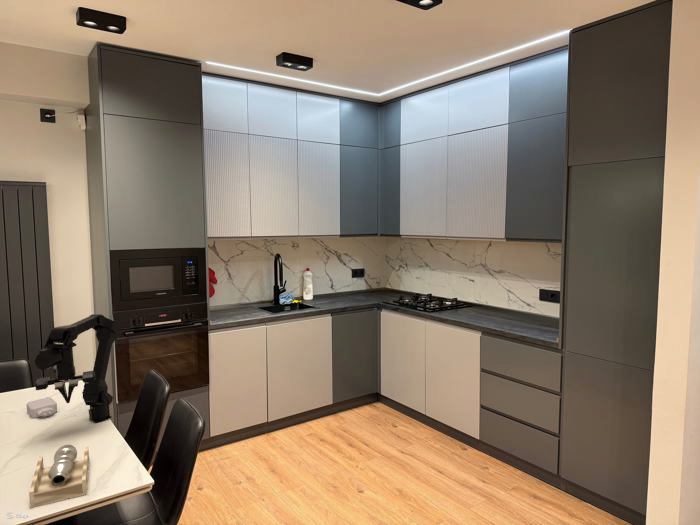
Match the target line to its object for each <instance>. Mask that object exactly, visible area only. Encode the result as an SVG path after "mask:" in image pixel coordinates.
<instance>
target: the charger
mask: <svg viewBox="0 0 700 525" xmlns="http://www.w3.org/2000/svg"><path fill="white" fill-rule="evenodd" d="M26 412H27V413H28V415H29V416H30V417H31V418H32V419H38V418H41V416H42V418H43V417H49V416H51V415H53V414H56V413H57V412H58V404H57V402H56V401H55V400H54V399H53V398H52V397H50V396H48V397H44V398H39V399H35V400H31V401H28V402H27V403H26Z"/></svg>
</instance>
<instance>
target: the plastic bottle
mask: <svg viewBox="0 0 700 525" xmlns="http://www.w3.org/2000/svg"><path fill="white" fill-rule="evenodd" d="M77 457H78V451H77V447H75V446H74V445H72V444H64V445H62V446H59V448H58V449H57V450H56V451H55V453H54V455H53V464H52V466H50V467H51V468H50V470H49V473H48V477H49V479H50V481H51V483H52V485H53V486H55V487H59V486H61V485H63V484H64V483H65V481H67V480H68V479H69V478H70V477H71V475H72V473H73V462H76V459H77Z"/></svg>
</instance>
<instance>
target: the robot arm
mask: <svg viewBox="0 0 700 525" xmlns="http://www.w3.org/2000/svg"><path fill="white" fill-rule="evenodd" d="M92 329H93V330H94V331H95V333H96V334H95V338H96V340H97V342H98V344H97V350H96V354H95V360H94V364H93V369H92V370H88V371H83V372H82V374H79V375H76V366H75V364H74V363H75V361H74V351H73V350H74V349H73V348H74V347H77V345H78V344H77V343H76V342H74V341H76V339H78V336H79V335H80V334H83V333H85V332H87V331H90V330H92ZM120 331H121V326H120V325H119V323H118V322H117V321H114V320H112V319H110V318H108V317H106V316H105V315H103V314H99V313H98V314H94V313H93V314H90V315H89V316H87V317H85V318H82V319H81V320H78V321H76V322H74V323H71V324H67V325H61V326H55V327H53V328H51V330H50V333H49V335H48V336H47V340H46V341H45V344H44V347H43V348H44V349H41V350H40V349H39V350H38V352H39V354H37V355H36V356H35V359H34V364H35V366H36V368H37V369H39V370H41V371H45V370H49V369H50V368H52V369H53V370H52V371H53V372H52V374H54V375H56V378H53V379H52V378H50V376H47V377H46V376H45V377H40V378H37V380H36V382H35V383H34V385H35V391H41V390H47V389H48V387H49V386H52V385H54V390H56V391H58V392H59V393H60V394H61V395H62V397H63V400H64V401H65V403H66V404H70V402H71V398H72V394H73V392H74V389H75V388H76V387H78V386H79V381H82V382H84V384H83V390H82V391H81V394H82V399H83V401H84V404H85V406H89V409H88V417H89V418H88V420H89V421H91V422H93V423H94V424H97V423H101V422H103V421H106V420H110V419H112V418H113V417H112V416H111V414H110V413H111V412H110V405H111V403H113V398H114V397H113V396H112V395H111V394H110V393H109V392H108V388H109V387H108V384H107V382H106V376H107V372H108V368H109V360H110V357H111V352H112V346H113V344H114V342H116V341H117V339H118V337H119V335H120ZM66 383H68V389H67V388H66ZM108 418H109V419H108Z"/></svg>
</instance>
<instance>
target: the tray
mask: <svg viewBox="0 0 700 525" xmlns="http://www.w3.org/2000/svg"><path fill="white" fill-rule="evenodd" d="M89 450H90V449H89V446H86V447H84V454H83V459H80V460H77V461H76V460H75V461H74V462H73V473H72V475H71V477H70V478H69V479H68V480H67V481H65V483H64V484H63V485H61V486H59V487H55V486H53V485H52V483H51V481H50V479H49V477H48V473H49V470H50V468H51V467H52V466H48V467H45V466H44V456H38V460H37V464H36V467H35V470H34V473H33V477H32V480H31V485H30V487H29V488H30V489H29V492H28V494H29V495H28V496H29V505H30V506H29V507H30V509H31V508H36V507H40V506H44V505H48V504H52V503H57V502H61V501H65V500H64V499H66V500H69V499H68V498H70V499H73V498H72V497H74V498H77V497H76V496H78V497H81V496H80V495H82V496H86V495H85V494H87V495H88V486H87V485H88V483H89V482H88V481H89V472H88V471H89V470H90V451H89ZM60 500H61V501H60Z"/></svg>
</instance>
